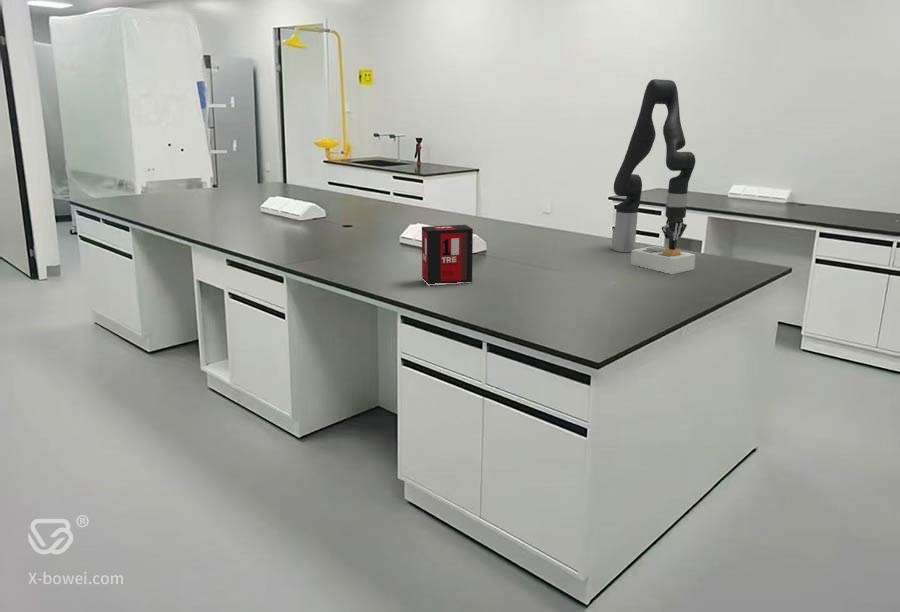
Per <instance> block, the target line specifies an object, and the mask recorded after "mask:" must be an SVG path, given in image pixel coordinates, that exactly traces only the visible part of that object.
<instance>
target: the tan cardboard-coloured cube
mask: <svg viewBox="0 0 900 612" xmlns="http://www.w3.org/2000/svg"><path fill="white" fill-rule="evenodd" d="M663 248H664V249H663V254H664V255H669V256H678V255H680V254H681V252H682V249H681V248H677V247H676V249H669V247H663Z"/></svg>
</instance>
